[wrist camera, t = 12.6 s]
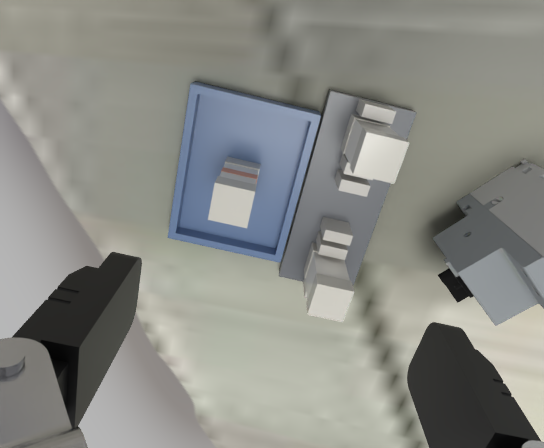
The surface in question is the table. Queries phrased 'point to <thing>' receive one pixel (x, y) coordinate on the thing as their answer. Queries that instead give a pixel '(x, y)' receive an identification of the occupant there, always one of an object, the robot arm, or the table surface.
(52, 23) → the table surface
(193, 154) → the tray
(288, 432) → the table surface
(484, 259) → the circuit breaker
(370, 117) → the fuse holder
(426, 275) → the table surface
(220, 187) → the block
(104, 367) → the robot arm
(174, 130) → the table surface
